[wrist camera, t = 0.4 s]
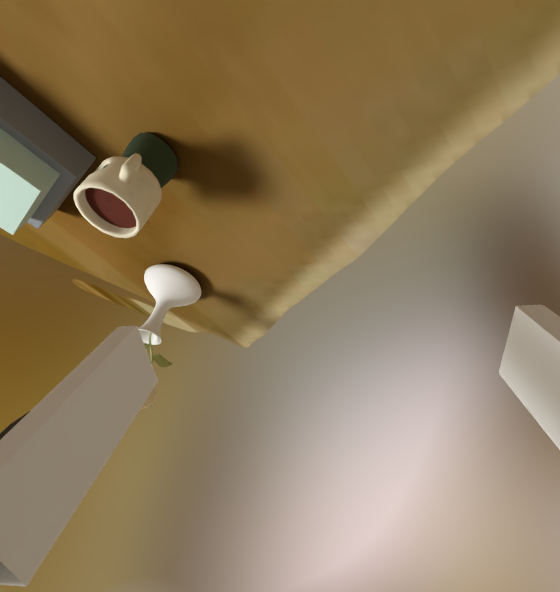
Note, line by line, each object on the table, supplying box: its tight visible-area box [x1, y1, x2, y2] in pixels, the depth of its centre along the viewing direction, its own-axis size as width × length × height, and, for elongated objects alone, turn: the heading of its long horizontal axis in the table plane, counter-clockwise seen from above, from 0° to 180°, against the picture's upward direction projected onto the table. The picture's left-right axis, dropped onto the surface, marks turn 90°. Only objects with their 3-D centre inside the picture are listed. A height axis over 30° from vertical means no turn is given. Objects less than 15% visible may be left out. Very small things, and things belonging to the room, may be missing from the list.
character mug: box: [73, 133, 178, 238], centre depth 37 cm, size 11×7×13 cm, turn 146°
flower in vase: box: [138, 264, 201, 408], centre depth 55 cm, size 13×11×25 cm
